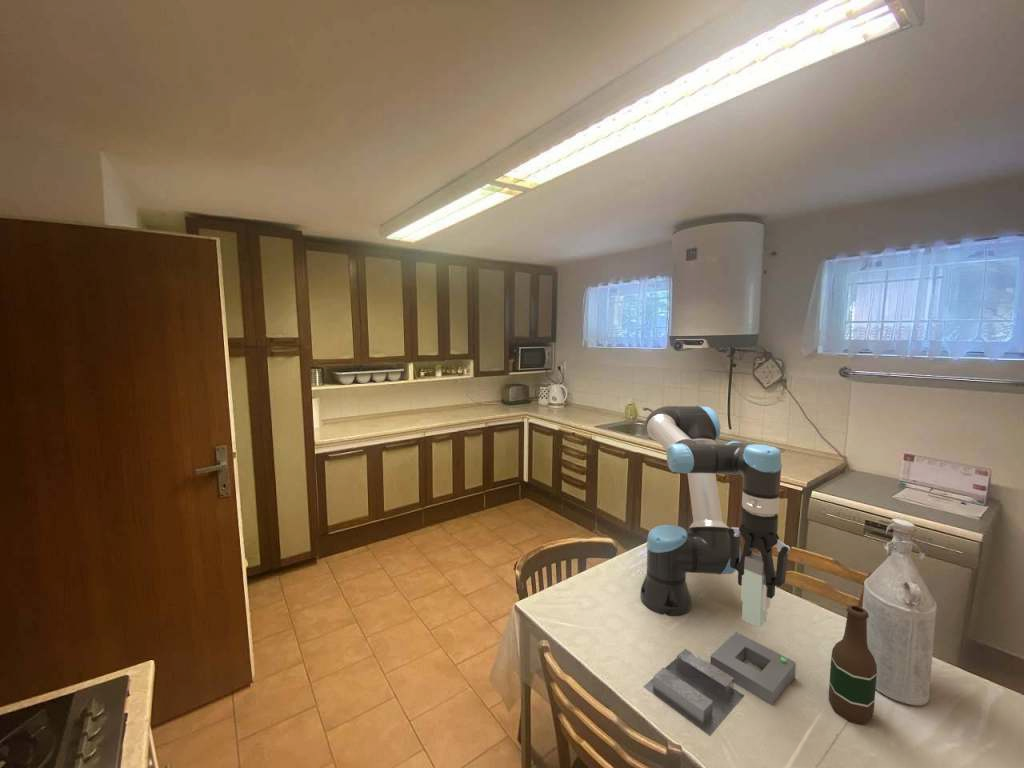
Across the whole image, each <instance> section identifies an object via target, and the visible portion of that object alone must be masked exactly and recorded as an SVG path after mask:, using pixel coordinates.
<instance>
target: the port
mask: <svg viewBox="0 0 1024 768" xmlns="http://www.w3.org/2000/svg"><path fill="white" fill-rule="evenodd" d="M744 660H747V661H748V662H751V663H752V664H754V665H756V666H757V667H758V668H761V669H762V671H759V670H757V669H755V668H753V667H752V666H750V665H749V664H747V663H745V662H743V661H744ZM709 663H710V664H712V665H713V666H715V667H717V668H718V669H720V670H722V671H723V672H725V673H727V674H728V675H730V676H731V677H733V678H734V684H736V685H737V686H739V687H740V688H742V689H745V691H748V692H749V693H751V694H752V695H754V696H756V697H758V699H760V700H762V701H764V702H766V703H767V704H769V705H770V706H773V705H774V704H775V702H776V701H777V700H778V698H779V697H780V696H781V695H782V693H783V692H784V690H785V689H786V687H787V686H789V685H790V684H792V682H793V681H794V680H795V678H796V668H797V663H796V662H795V661H794V660H793V659H790V658H788V657H786V656H784V655H783V654H781V653H779V652H776V651H774V650H773V649H770V648H769V647H767V646H766V645H763V644H761V643H759V642H757V641H755V640H753V639H751V638H750V637H748V636H745V635H744V634H741V633H740V632H738V631H735V633H733V634H732V635H731V636H730V637H729V638H727V640H726V641H725V642H724V643H722V644H721V645H720V646H719V647H718V648H717V649H716V650H715V651H714V652H713V653H712V654H711V655H710V662H709Z"/></svg>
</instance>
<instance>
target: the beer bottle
mask: <svg viewBox="0 0 1024 768" xmlns="http://www.w3.org/2000/svg"><path fill="white" fill-rule="evenodd" d="M845 611H846V612H847V615H846V621H845V626H844V627H845V628H844V633H843V636H842V639H841V640H839V641H838V642H837V643H835V644H834V646H833V648H832V650H831V656H830V669H829V686H828V701H829V703H830V705H831V707H832V709H833V710H834V712H835V713H836V714H838V715H839V716H840V717H842V718H843V719H845V720H846V721H848V722H850V723H854V724H857V725H858V724H859V725H863V726H866V725H867V724H869V722H870V721H872V719H873V717H874V712H875V702H876V701H875V700H876V691H877V690H876V678H877V665H876V662H875V659H874V657H873V655H872V654H871V652H870V650H869V649H868V645H867V618H868V617H869V616H868V613H867V611H866V610H865V609H863V608H862V607H861V606H859V605H855V604H850V605H847V607H846V610H845Z"/></svg>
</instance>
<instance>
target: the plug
mask: <svg viewBox="0 0 1024 768" xmlns="http://www.w3.org/2000/svg"><path fill="white" fill-rule="evenodd" d="M765 582H766V577H765V571H764V562H763V559H762V556H761V554H760V553H759V554H758V553H756V552H753V551H752V554H750V555H749V556H746V557H745V563H744V585H743V601H742V608H741V609H742V611H741V620H742V621H744V622H747V623H748V624H750V625H753V626H754V627H756V628H759V629H761V627H762V626H763V625H764V624H765V623H766V622H767V621H768V619H767V618H768V609H767V610H766V611H763V610H762V592H763V583H765Z"/></svg>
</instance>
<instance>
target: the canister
mask: <svg viewBox="0 0 1024 768" xmlns="http://www.w3.org/2000/svg"><path fill="white" fill-rule="evenodd" d="M891 530H892V531H893V532H892V533H893V534H892V539H891V541H888V542H887V543H886V544H883V549H884V550H885V552H886V555H887V558H886V559H885V560H884V561H883V562H882V563H880V565H878V567H877V568H876V569H875V570H874V571H873V572H872V573H871V574H870V575H869V576H868V577H866V578H865V579H864V582H863V585H864V586H863V596H862V597H863V598H862V607H861V608H863V609H865V610H866V611H867V613H868V616H869V617H868V618H867V645H868V649H869V650H870V652H871V654H872V655H873V657H874V659H875V662H876V665H877V678H876V690H875V691H878V692H879V693H881V694H883V695H884V696H886V697H888V698H890V699H893V700H895V701H897V702H901V703H903V704H908V705H911V706H912V705H913V706H924V705H926V704H927V703H928V702H929V701H930V687H931V676H932V663H933V653H934V639H935V628H936V617H937V608H938V604H937V602H936V600H935V599H934V597H933V596H932V594H931V593H930V590H929V588H928V586H927V585H926V583H925V580H924V578H923V577H922V575H921V573H920V571H919V570H918V568H917V565H915V563H914V560H913V558H912V557H911V555H912V551H913V550H916V551H918V552H919V553H918V554H917V555H918V556H917V557H918V558H917V559H918V561H919V562H922V561H923V559H924V558H925V557H926V553H924V552H922V551H921V548H920V547H919V546H918V545H917V544H916V543H914V541H912V540H913V535H914V534H915V533H916V532H917V531H918V532H919V533H920V532H921V531H920V528H917V526H916V525H915V524H914V523H912V522H910V521H907V520H904V519H899V518H892V519H891V524H888V526H887V528H886V531H885V534H886V535H887V534H888V531H891ZM921 539H923V537H921ZM885 540H886V539H884V541H885Z"/></svg>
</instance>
